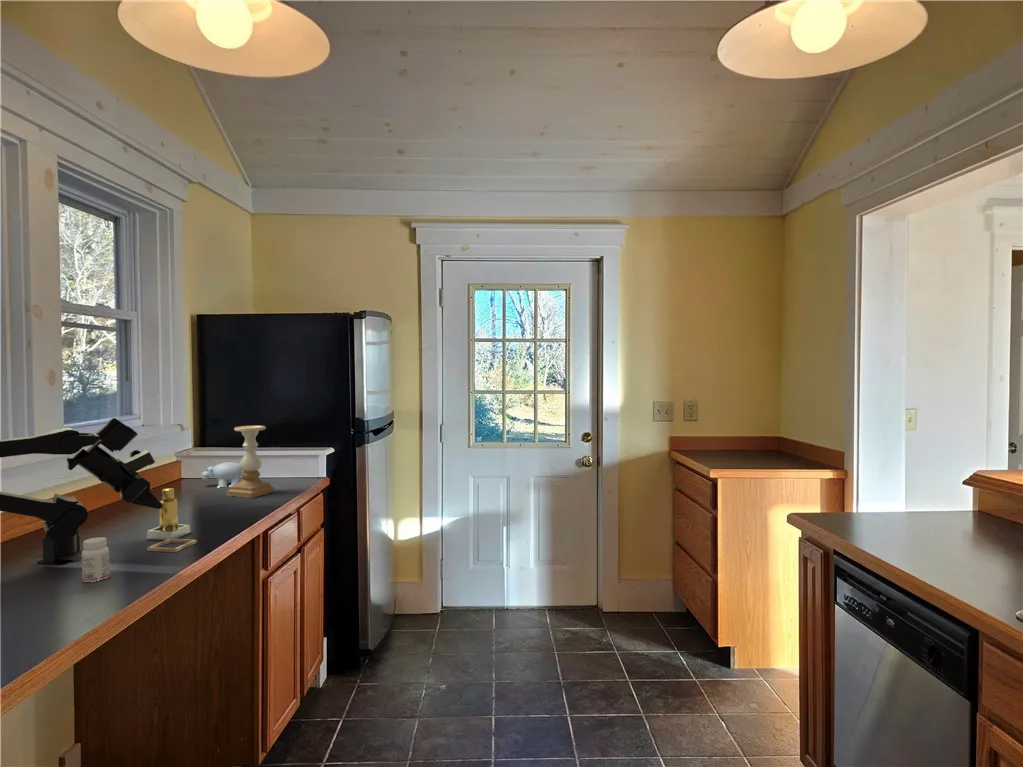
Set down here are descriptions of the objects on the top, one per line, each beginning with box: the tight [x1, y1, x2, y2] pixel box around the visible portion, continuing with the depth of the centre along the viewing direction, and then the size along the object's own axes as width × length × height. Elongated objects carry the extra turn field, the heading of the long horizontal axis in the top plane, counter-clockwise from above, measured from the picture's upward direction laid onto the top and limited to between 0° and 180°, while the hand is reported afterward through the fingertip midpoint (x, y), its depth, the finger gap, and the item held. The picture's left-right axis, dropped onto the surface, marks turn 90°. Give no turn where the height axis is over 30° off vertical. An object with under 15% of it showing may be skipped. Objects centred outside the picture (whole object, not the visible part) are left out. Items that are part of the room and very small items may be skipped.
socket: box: [146, 523, 192, 541], centre depth 149 cm, size 7×7×4 cm
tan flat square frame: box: [146, 538, 198, 553], centre depth 140 cm, size 8×8×2 cm
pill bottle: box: [81, 536, 111, 583], centre depth 123 cm, size 5×5×8 cm
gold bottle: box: [159, 487, 179, 531], centre depth 149 cm, size 4×4×12 cm
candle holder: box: [226, 425, 275, 499], centre depth 204 cm, size 11×11×24 cm
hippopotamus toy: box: [201, 461, 244, 489], centre depth 219 cm, size 11×15×10 cm
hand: (157, 504), depth 147 cm, fingers open, 9 cm apart
